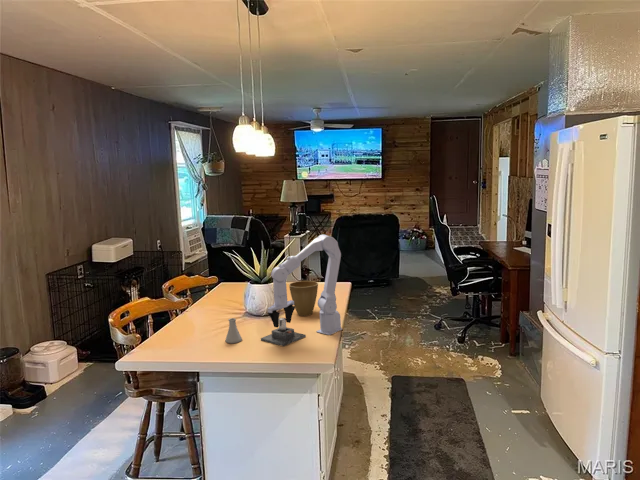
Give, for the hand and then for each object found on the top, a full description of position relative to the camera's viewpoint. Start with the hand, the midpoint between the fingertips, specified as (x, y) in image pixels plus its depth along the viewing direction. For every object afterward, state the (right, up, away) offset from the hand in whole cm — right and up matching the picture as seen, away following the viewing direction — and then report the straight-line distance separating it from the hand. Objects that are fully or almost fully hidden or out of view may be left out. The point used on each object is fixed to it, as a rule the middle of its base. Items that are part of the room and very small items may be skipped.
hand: (282, 324), depth 213 cm
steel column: (0, -5, +1) cm, 5 cm away
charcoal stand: (0, -6, +1) cm, 6 cm away
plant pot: (+9, -1, +37) cm, 38 cm away
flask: (-22, -8, +2) cm, 23 cm away
